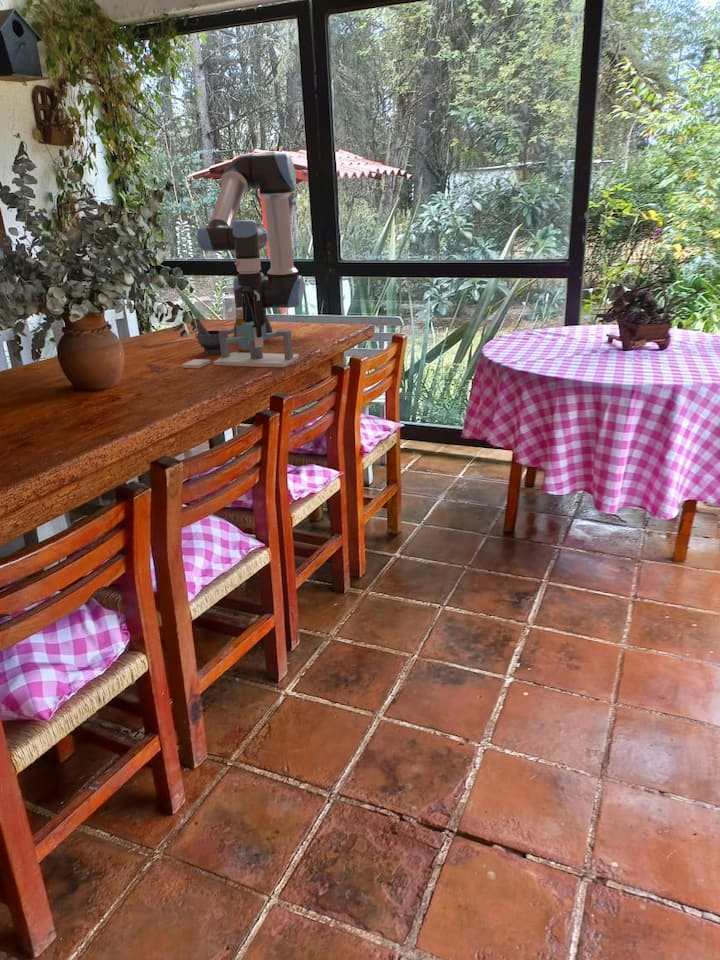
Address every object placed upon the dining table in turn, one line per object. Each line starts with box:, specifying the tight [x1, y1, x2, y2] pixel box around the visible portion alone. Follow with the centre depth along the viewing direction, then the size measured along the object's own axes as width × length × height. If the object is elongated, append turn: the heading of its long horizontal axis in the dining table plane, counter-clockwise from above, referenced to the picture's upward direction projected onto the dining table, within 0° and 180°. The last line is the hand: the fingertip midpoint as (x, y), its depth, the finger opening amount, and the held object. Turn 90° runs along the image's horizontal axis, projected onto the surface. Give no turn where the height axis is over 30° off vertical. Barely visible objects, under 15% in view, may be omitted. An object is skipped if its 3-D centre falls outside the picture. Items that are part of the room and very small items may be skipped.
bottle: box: [234, 307, 250, 353], centre depth 243 cm, size 7×7×15 cm
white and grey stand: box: [213, 328, 300, 368], centre depth 228 cm, size 14×24×11 cm, turn 73°
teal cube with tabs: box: [226, 322, 281, 344], centre depth 226 cm, size 6×19×5 cm, turn 118°
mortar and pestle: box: [195, 317, 221, 355], centre depth 244 cm, size 11×9×12 cm
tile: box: [181, 358, 212, 369], centre depth 228 cm, size 8×6×1 cm
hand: (255, 345), depth 228 cm, fingers closed on teal cube with tabs, 6 cm apart
